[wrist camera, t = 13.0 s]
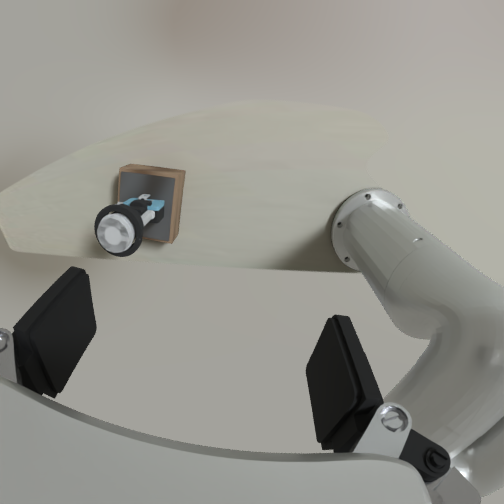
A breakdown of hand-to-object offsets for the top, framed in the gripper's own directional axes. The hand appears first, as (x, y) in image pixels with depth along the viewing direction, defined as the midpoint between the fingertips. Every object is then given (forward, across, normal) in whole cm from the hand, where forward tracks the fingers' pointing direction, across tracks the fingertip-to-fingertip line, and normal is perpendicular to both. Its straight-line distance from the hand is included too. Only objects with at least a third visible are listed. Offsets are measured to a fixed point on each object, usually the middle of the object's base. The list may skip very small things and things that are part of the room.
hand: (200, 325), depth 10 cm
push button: (+25, +11, +4) cm, 27 cm away
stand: (+28, +11, +4) cm, 31 cm away
